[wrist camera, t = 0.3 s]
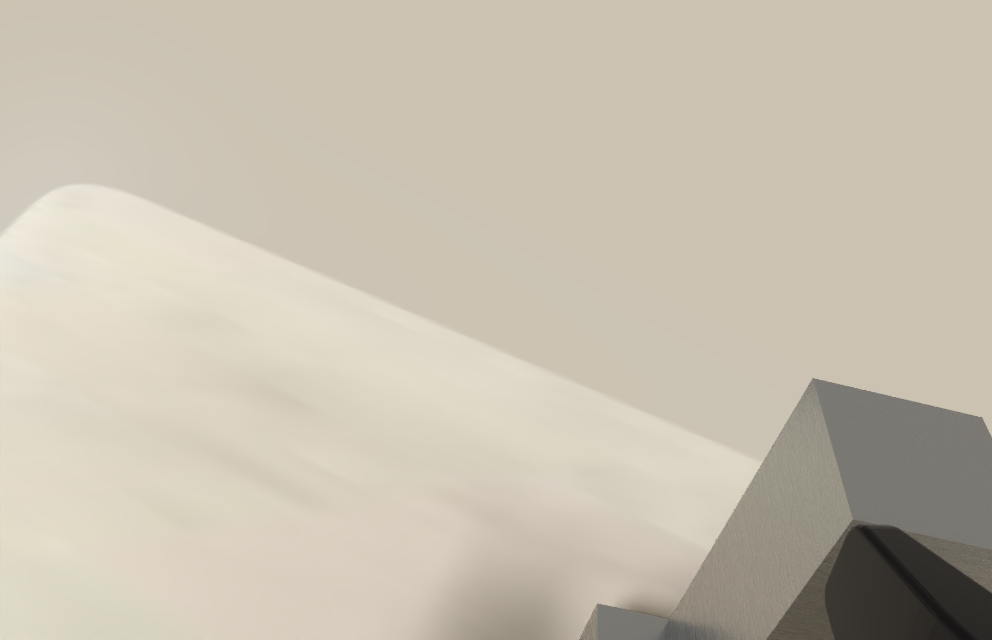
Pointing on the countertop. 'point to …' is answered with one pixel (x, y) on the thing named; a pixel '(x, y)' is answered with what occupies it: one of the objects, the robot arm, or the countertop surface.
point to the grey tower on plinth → (830, 516)
